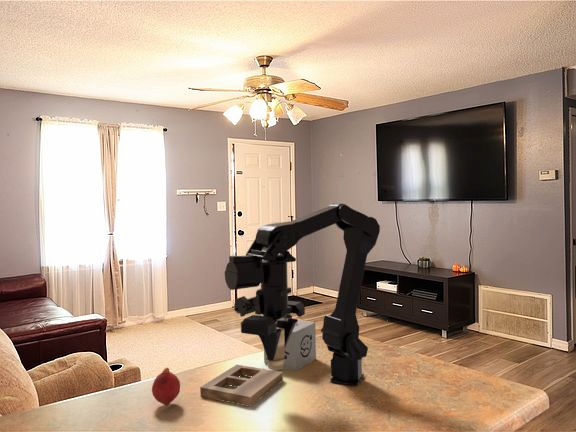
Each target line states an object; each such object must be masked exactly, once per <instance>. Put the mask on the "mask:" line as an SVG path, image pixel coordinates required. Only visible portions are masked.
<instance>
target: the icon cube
mask: <svg viewBox="0 0 576 432" xmlns="http://www.w3.org/2000/svg"><path fill="white" fill-rule="evenodd" d="M316 331H317V330H316V322H313V321H308V320H302V319H298V322H297V323H296V325H295V327H294V329H293V331H292V333H291V335H290V338H289V340H288V342H287V345H286V347H285V359H284V367H283V368H282V369H285V370H290V371H293V372H294V371H295V372H297V371H298V370H300V369H302V368H304V367H305V366H307V365H308V364H310V363H312V362H313V361H315V360H316V359H317V345H316V344H317V341H316V337H317V336H316ZM263 363H265V364H264V365H267V364H268V360H267V359H266V352H265V349H264V348H263Z"/></svg>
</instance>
